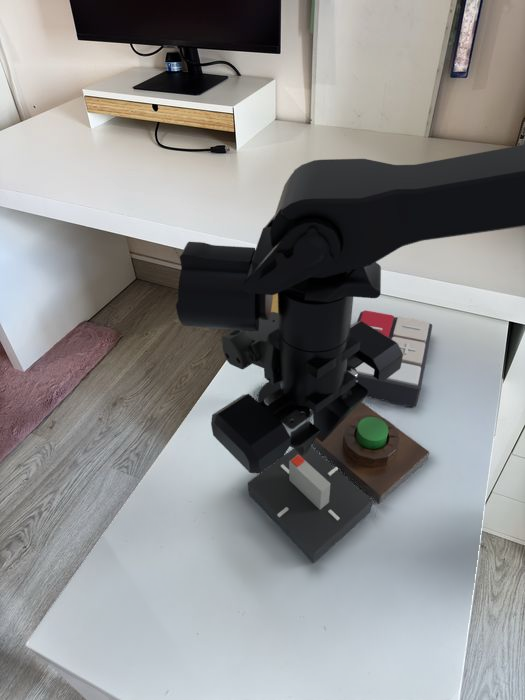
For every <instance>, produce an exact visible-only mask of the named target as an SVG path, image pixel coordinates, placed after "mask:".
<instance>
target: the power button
mask: <svg viewBox="0 0 525 700" xmlns="http://www.w3.org/2000/svg"><path fill="white" fill-rule="evenodd" d="M387 436H388V427H387V425H386V423H385V422H384V421H382V420H381V419H379V418H376V417H367V418H364V419H362V420H361V421H360V422H359V424H358V427H357V435H356V437H357V441H358V442H359V444H360V445H361V446H363V447H364V448H367V449H371V450H375V449H379V448H381V447H383V446H384V445H385V443H386V441H387Z"/></svg>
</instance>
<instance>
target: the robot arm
mask: <svg viewBox="0 0 525 700" xmlns="http://www.w3.org/2000/svg"><path fill="white" fill-rule="evenodd" d="M523 227H525V144H519V145H515V146H509V147H503V148H499V149H498V148H497V149H493V150H488V151H482V152H477V153H471V154H466V155H461V156H460V155H459V156H455V157H449V158H443V159H438V160H433V161H428V162H423V163H418V164H417V163H415V164H393V163H387V162H383V161H377V160H373V159H369V158H368V159H367V158H336V159H331V158H329V159H314V160H311V161H308V162H306V163H303V164H301V165H299V166H298V167H297V168H295V169H294V170H293V172H292V173H291V174H290V176H289V177H288V179H287V180H286V181H285V184H284V186H283V189H282V191H281V195H280V197H279V200H278V204H277V207H276V210H275V212H274V215H273V216H272V218H270V219H269V221H268V223H266V224H265V226H264V227H263V228H262V230H261V233H260V235H259V239H258V241H257V245H256V247H251V246H249V247H248V246H235V245H233V246H231V245H216V244H210V243H206V242H202V241H188V242H187V243H186V244H185V246H184V248H183V249H182V252H181V253H180V255H179V262H180V267H181V268H180V273H179V278H178V288H177V289H178V290H177V301H176V303H175V309H176V314H177V318H178V321H179V322H180V324H181V325H182V326H183V327H184V326H185V327H195V328H207V329H219V330H230V331H228V332H227V333H225V334H223V335H222V337H221V340H222V352H223V354H224V357H225V359H226V361H227V363H228V364H229V365H231V366H232V367H233V366H234V367H235V368H237V369H240V370H245V369H246V368H248V367H250V366H251V365H253V366H257V367H258V368H259V367H260V368H261V369H263V371H264V372H263V376H264V379H265V380H267V381H268V382H270V383H272V384H273V385H274V384H275V383H277V382H278V383H279V384H280V385H281V388H280V389H278V390H277V391H275V392H274V393H272V394H271V395H269V396H268V397H266V398H265V399H264V400H263V401H261V402H260V403H259V402H258V399H256V398H254V396H252V395H251V394H250V393H245V394H242V395H241V396H239V397H238V398H236V399H234V400H233V401H231V402H229V403H228V404H227V405H225V406H223V407H222V408H221V409H218V410H217V411H215V412H214V413H213V414H212V415H211V422H210V426H211V431H212V436H213V437H214V438H215V439H216V440H217V441H218V442H219V444H221V445H222V447H224V448H225V449H226V450H227V451H228V452H229V454H231V455H232V456H233V457H234V458H235V460H237V462H238V463H239V464H240V465H241V466H242V467H243V468H244V469H245V470H246V471H247V472H248V473H249V474H257V475H259V474H260V473H261V472H263V471H264V470H265V469H267V468H268V467H269V466H271V465H272V464H273V463H275V462H276V461H277V460H279V459H280V458H281V457H283V456H284V455H285V454H287V451H288V450H289V448H292V449H293V448H295V450H296V451H297V452H298V453H299V454H300V455H301V456H304V455H306V453H307V452H308V451H309V449H310V447H313V442H314V441H315V439H316V438H317V439H319V440H320V441H321V442H323V441H324V440H325V439H326V438H327V437H328V436H329V435H330V434H331V433H332V432H333V430H334V429H335V428H336V427H337V426H338V425H339V424H340V423H341V422H342V421H343V420H344V419H345V418H346V417H347V416H348V415H349V414H350V413H351V411H352V410H353V409H354V408H355V407H356V406H357V405H358V404H359V403H360V402H363V400H365V399H366V398H367V397H368V396H367V395H368V390H367V389H366V388H365V387H364V386H362V385H361V384H360V383H358V378H357V377H358V372H357V370H356V369H355V368H357V367H358V366H359V365H361V364H362V363H366V364H367V365H369V366H370V367H371V368H373V369H374V376H373V377H375V378H376V379H378V380H380V381H382V382H383V381H384V380H386V379H387V378H388V377H390V376H391V375H392V374H394V373H395V372H396V371H398V370H399V369H400V368H401V363H402V358H403V353H402V350H401V348H400V347H399V345H398V343H397V342H395V341H393V340H392V339H390V338H388V337H387V336H385V335H384V334H382V333H380V332H379V331H377V330H375V329H374V328H372V327H371V326H369V325H367V324H366V323H364V322H362V321H360V322H357V321H356V322H355V323H352V316H353V305H354V298H364V299H365V298H366V299H378V298H379V297H381V292H382V290H381V288H382V287H381V286H382V267H381V265H380V264H379V263H378V262H379V261H380V260H382V259H384V258H385V257H387V256H389V255H390V254H393V253H394V252H395V251H397V250H399V249H401V248H403V247H406V246H409V245H412V244H416V243H419V242H423V241H430V240H437V239H444V238H451V237H459V236H467V235H473V234H481V233H489V232H494V231H502V230H508V229H516V228H523ZM277 293H278V313H276V312H271V308H272V301H273V295H275V294H277ZM310 410H312V411H313V415H312V416H311V413H310ZM311 417H312V419H313V420H312V422H311V421H310V419H311Z"/></svg>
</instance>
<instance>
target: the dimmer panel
mask: <svg viewBox="0 0 525 700" xmlns="http://www.w3.org/2000/svg"><path fill="white" fill-rule="evenodd" d="M317 451H318V450H315V448H314V447H313V446H311V447H310V449H309V451H308V452H307V453H306V455H304V456H301V455H300V454H299V453H298V452H297V451H296V450H295V448H292V449H291V450H289V451H288V452H286V453H285V454H284V456H283V457H281V458H280V459H279V460H277V461H276V462H275V463H273V464H272V465H271V466H269V467H268V468H267V469H265V470H264V471H263V472H261V473H260V474H257V475H256V476H255V477H253V478H252V479H250V480H249V481H248V482H247V483H246V484H247V492H248V496H249V497H251V499H252V500H253V501H254V502H255V503H256V504H257V505H258V506H259V507H260V508H261V509H262V510H263V511H264V513H265V514H267V516H268V517H269V518H270V519H271V520H272V521H273V522H274V524H276V526H278V528H280V530H282V531H283V533H284V534H285V535H286V536H287V537H288V538H289V539H290V540H291V541H292V542H293V544H295V545H296V546H297V548H298V549H299V550H301V552H302V553H303V554H304V555H305V556H306V557H307V558H308V559H309V560H310V561H311V563H313V564H316V562H317V561H318V560H319V559H320V558H322V557H323V556H324V555H325V554H326V553H327V552H328V551H329V550H331V549H332V548H333V547H334V546H335V545H336V544H337V543H338V542H339V541H341V539H343V538H344V537H345V536H346V535H347V534H348V533H349V532H350V531H351V530H353V528H355V527H357V525H358V524H359V523H360V522H362V520H363V519H365V517H367V516H368V515H369V514H370V513H371V512H372V507H373V502H374V501H373V500H374V499H373V498H370V496H369V495H368V494H367V493H366V492H365V491H363V490H362V489H361V488H360V487H359V486H358V485H356V484H354V482H353V481H352V480H351V479H350V478H348V477H347V476H346V475H345V474H344V473H343V472H342V471H340V470H339V468H337V467H336V466H335V465H334V464H332V463H331V462H330V461H329V460H328V459H327V458H326V457H324V456H323V455H322V454H321V453H320V452H319V451H318V452H317ZM297 455H299V456H301V457H302V458H303V459H304V460H305V461H306V462H307V463H308V464H309V465H311V466H312V467H313V468H314V469H315V470H316V471H317V472H318V473H319V474H321V475H322V476H323V477H324V478H325V479H326V480H327V481H328V482H329V483H330V495H329V503H328V504H326V505H325V506H324V507H323V508H322V509H321V510H320V509H319V508H318V507H317V506H316V505H314V504H313V503H312V502H311V501H310V500H309V499H308V498H307V497H306V496H305V495H304V494H303V493H302V492H301V491H300V490H299V489H298V488H297V487H296V486H295V485H294V484H293V483H292V482H291V481H290V480H289V461H290V460H291V459H293V458H294V457H295V456H297Z"/></svg>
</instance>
